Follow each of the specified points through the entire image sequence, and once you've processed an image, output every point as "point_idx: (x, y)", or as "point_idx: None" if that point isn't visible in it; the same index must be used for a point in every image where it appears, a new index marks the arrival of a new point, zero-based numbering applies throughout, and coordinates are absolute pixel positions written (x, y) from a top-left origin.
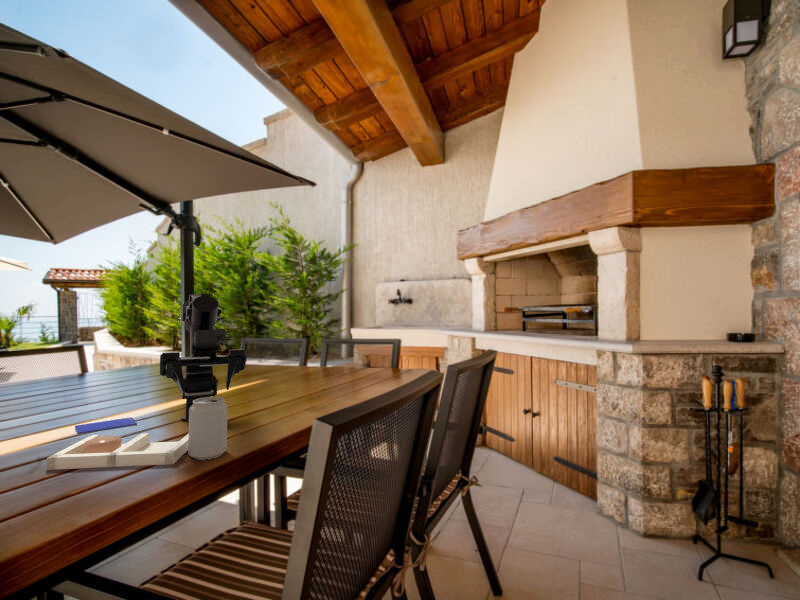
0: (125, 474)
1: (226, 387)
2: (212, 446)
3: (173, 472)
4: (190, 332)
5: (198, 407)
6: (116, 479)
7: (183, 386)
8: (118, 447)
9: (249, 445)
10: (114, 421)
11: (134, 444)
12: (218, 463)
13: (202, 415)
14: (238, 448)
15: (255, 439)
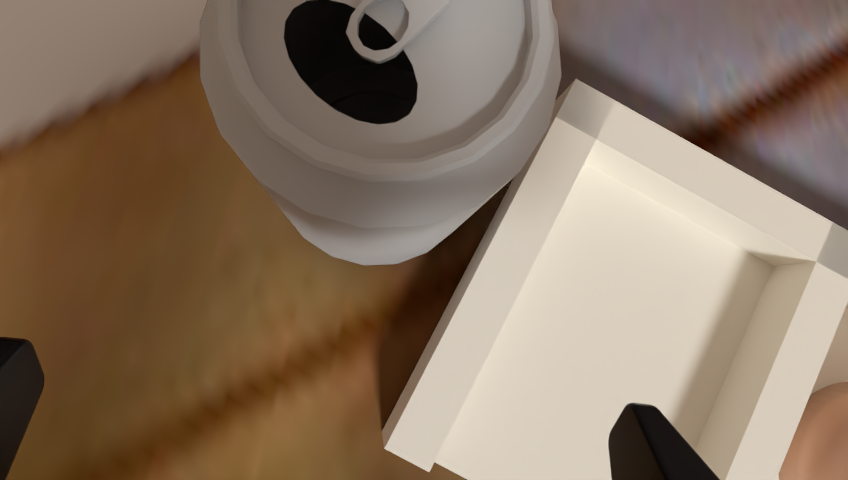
0: (738, 131)
1: (19, 424)
2: (374, 41)
3: (557, 24)
4: None
5: None
6: (768, 92)
7: (673, 460)
8: (819, 427)
9: (124, 190)
10: None
11: (749, 403)
12: None
13: None
14: (199, 176)
15: (46, 287)
